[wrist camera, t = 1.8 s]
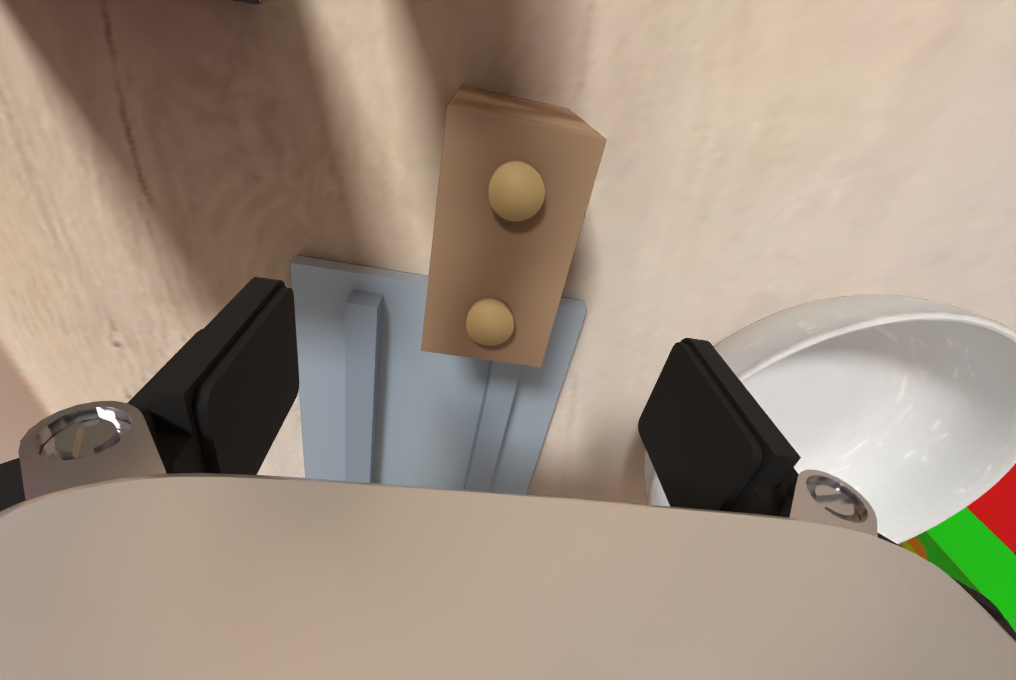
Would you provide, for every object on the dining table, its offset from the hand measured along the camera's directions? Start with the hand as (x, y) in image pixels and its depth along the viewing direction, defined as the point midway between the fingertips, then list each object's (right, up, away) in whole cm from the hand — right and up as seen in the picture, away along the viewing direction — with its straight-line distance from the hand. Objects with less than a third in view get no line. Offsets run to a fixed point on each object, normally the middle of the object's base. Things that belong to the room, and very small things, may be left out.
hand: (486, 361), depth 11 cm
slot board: (-5, -4, +19) cm, 20 cm away
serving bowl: (+19, -3, +20) cm, 28 cm away
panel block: (0, +8, +12) cm, 14 cm away
